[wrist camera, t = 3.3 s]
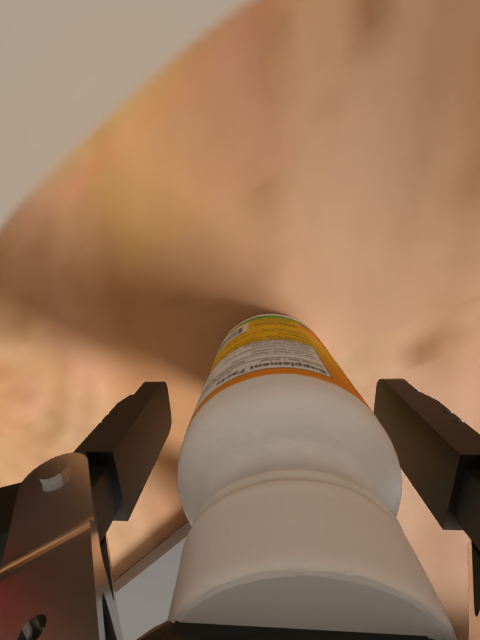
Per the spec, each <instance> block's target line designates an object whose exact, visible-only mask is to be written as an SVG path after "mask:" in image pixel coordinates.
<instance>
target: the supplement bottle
mask: <svg viewBox="0 0 480 640" xmlns="http://www.w3.org/2000/svg"><path fill="white" fill-rule="evenodd" d="M177 483H178V492H179V497H180V501H181V504H182V507H183V510H184V512H185V515H186V517H187V519H188V521H189V523H190V525H191V529H190V531H189V533H188V535H187V537H186V540H185V542H184V546H183V549H182V554H181V560H180V566H179V571H178V575H177V580H176V584H175V589H174V593H173V598H172V602H171V606H170V611H169V615H168V620H169V621H171V622H172V623H175V620H176V621H179V622H184V623H202V624H220V625H239V626H257V627H275V628H294V629H311V630H329V631H347V632H364V633H382V634H400V635H418V636H428V638H430V639H435V640H457V637H456V635H455V632H454V629H453V627H452V624H451V622H450V620H449V618H448V616H447V614H446V612H445V610H444V608H443V606H442V604H441V602H440V600H439V598H438V596H437V594H436V592H435V590H434V588H433V586H432V584H431V582H430V580H429V578H428V576H427V574H426V573H425V571H424V569H423V567H422V565H421V563H420V561H419V560H418V558H417V556H416V554H415V552H414V550H413V549H412V547H411V545H410V543H409V541H408V540H407V538H406V536H405V534H404V533H403V530H402V528H401V526H400V524H399V522H398V520H397V518H396V515H397V512H398V509H399V505H400V500H401V493H402V477H401V470H400V465H399V460H398V457H397V454H396V451H395V449H394V446H393V444H392V442H391V440H390V438H389V436H388V435H387V433H386V431H385V430H384V428H383V427H382V425H381V424H380V422H379V421H378V419H377V417H376V416H375V414H374V413H373V412H372V410H371V409H370V408H369V406H368V405H367V404H366V402H365V401H364V400H363V398H362V397H361V395H360V394H359V393H358V391H357V390H356V389H355V387H354V386H353V385H352V383H351V382H350V381H349V379H348V378H347V376H346V375H345V374H344V372H343V371H342V369H341V368H340V367H339V365H338V364H337V363H336V361H335V360H334V359H333V357H332V356H331V354H330V353H329V352H328V350H327V349H326V347H325V346H324V345H323V343H322V342H321V341H320V339H319V338H318V337H317V336H316V335H315V333H314V332H313V331H312V330H311V329H310V328H309V327H307V326H306V325H305V324H303V323H302V322H300V321H298V320H296V319H294V318H291V317H288V316H284V315H279V314H262V315H257V316H254V317H251V318H248V319H246V320H244V321H242V322H241V323H239V324H238V325H236V326H235V327H234V328H233V329H232V330H231V331H230V332H229V333H228V334H227V335H226V337H225V338H224V340H223V342H222V343H221V345H220V347H219V349H218V352H217V354H216V356H215V359H214V362H213V364H212V367H211V370H210V372H209V375H208V377H207V380H206V383H205V385H204V388H203V390H202V393H201V396H200V398H199V401H198V403H197V406H196V408H195V411H194V413H193V416H192V418H191V421H190V423H189V425H188V428H187V431H186V434H185V437H184V441H183V444H182V447H181V451H180V456H179V462H178V470H177Z"/></svg>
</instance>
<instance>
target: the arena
mask: <svg viewBox="0 0 480 640" xmlns="http://www.w3.org/2000/svg"><path fill="white" fill-rule="evenodd" d="M190 529H191V525H190V523H189V521H188V522H187V523H186V524H184V525H183V526H182V527H181V528H180V529H178V530H177V531H176V532H175V533H173V534H172V535H171V536H170V537H169V538H167V539H166V540H165V541H164V542H162V543H161V544H160V545H159V546H157V547H156V548H155V549H154V550H153V551H151V552H150V553H149V554H148V555H146V556H145V557H144V558H143V559H141V560H140V561H139V562H138V563H137V564H135V565H134V566H133V567H132V568H130V569H129V570H128V571H127V572H125V573H124V574H123V575H122V576H121V577H119V578H118V579H117V580H116V581H114V587H115V594H116V601H117V608H118V614H119V620H120V625H121V630H122V635H123V640H136V639H138V638H139V637H140V636H142V635H143V634H145V633H146V632H148V631H149V630H151V629H152V628H153V627H155V626H157V625H159V624H161V623H163V622H165V621H167V620H168V615H169V611H170V606H171V602H172V598H173V593H174V589H175V584H176V580H177V575H178V571H179V566H180V560H181V554H182V549H183V546H184V542H185V540H186V537H187V535H188V533H189V531H190Z"/></svg>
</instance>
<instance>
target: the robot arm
mask: <svg viewBox="0 0 480 640" xmlns="http://www.w3.org/2000/svg"><path fill="white" fill-rule="evenodd" d="M374 414H375V416H376V417H377V419H378V421H379V422H380V424H381V425H382V427H383V428H384V430H385V431H386V433H387V435H388V436H389V438H390V440H391V442H392V444H393V446H394V449H395V451H396V454H397V457H398V460H399V465H400V467H401V469H402V470H403V472H404V473H405V475H406V476H407V478H408V479H409V480H410V482H411V483H412V485H413V486H414V488H415V489H416V491H417V492H418V494H419V495H420V497H421V498H422V500H423V501H424V502H425V504H426V505H427V507H428V508H429V510H430V511H431V513H432V514H433V516H434V517H435V519H436V520H437V521H438V523H439V524H440V526H441V527H442V529H443V530H464V531H465V533H466V534H467V535H468V536H469V538H470V539H469V542H468V547H467V560H468V599H469V638H468V640H480V434H478V433H477V432H476V431H475V430H473V429H472V428H471V427H470V426H468V425H467V424H466V423H465V422H462V420H461V419H460V418H459V417H457V416H456V415H455V414H454V413H451V411H450V410H449V409H447V408H446V407H445V406H444V405H442V404H441V403H440V402H439V401H437V400H435V399H433V398H431V397H429V396H427V395H425V394H423V393H421V392H419V391H417V390H416V389H415V388H414V387H413V386H411V385H410V384H409V383H408V382H407V381H406V380H404V379H380V380H379V381H378V382H377V386H376V395H375V404H374ZM170 428H171V410H170V403H169V395H168V388H167V384H166V383H165V382H144V383H143V384H142V386H141V387H140V388H139V389H138V390H137V391H136V393H135V394H134V395H130V396H128V397H126V398H125V399H123V400H122V401H120V402H119V403H117V405H116V406H115V407H114V408H113V409H112V410H111V411H110V412H109V415H107V416H106V417H105V418H104V419H103V420H102V423H99V424H98V426H97V427H96V428H95V429H94V430H93V431H92V432H91V433H90V434H89V435H88V437H87V438H86V439H85V440H84V441H83V442H82V443H81V444H80V445H79V447H78V448H77V449H76V450H75V451H74V452H73V453H67V454H63V455H60V456H57V457H54V458H52V459H50V460H48V461H46V462H44V463H43V464H41V465H39V466H38V467H37V468H35V469H34V470H33V471H32V472H31V473H29V474H28V475H27V477H26V478H25V479H24V480H23V481H22V482H21V483H17V484H13V485H9V486H5V487H1V488H0V640H123V635H122V630H121V625H120V620H119V614H118V608H117V601H116V594H115V587H114V580H113V573H112V566H111V559H110V551H109V544H108V538H107V534H106V532H107V530H108V528H109V527H110V525H111V523H112V521H128V520H129V518H130V516H131V513H132V511H133V509H134V507H135V505H136V503H137V501H138V499H139V496H140V494H141V492H142V490H143V488H144V486H145V484H146V481H147V479H148V477H149V475H150V473H151V471H152V469H153V467H154V464H155V462H156V460H157V458H158V456H159V454H160V452H161V449H162V447H163V445H164V443H165V441H166V439H167V437H168V435H169V432H170ZM136 640H435V639H430V638H428V636H418V635H400V634H382V633H364V632H347V631H329V630H311V629H294V628H275V627H257V626H239V625H220V624H202V623H184V622H179V621H176V620H175V623H172V622H171V621H169V620H167V621H165V622H163V623H161V624H159V625H157V626H155V627H153V628H152V629H151V630H149V631H148V632H146V633H145V634H143V635H142V636H140V637H139V638H138V639H136Z"/></svg>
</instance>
